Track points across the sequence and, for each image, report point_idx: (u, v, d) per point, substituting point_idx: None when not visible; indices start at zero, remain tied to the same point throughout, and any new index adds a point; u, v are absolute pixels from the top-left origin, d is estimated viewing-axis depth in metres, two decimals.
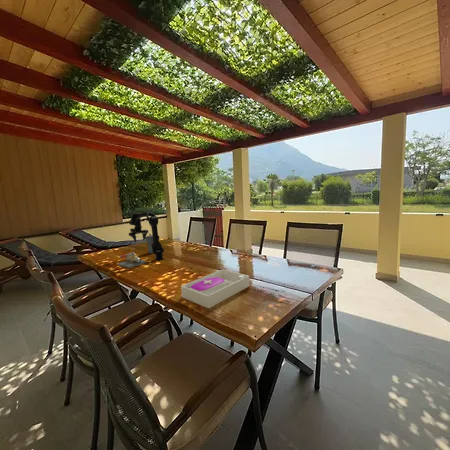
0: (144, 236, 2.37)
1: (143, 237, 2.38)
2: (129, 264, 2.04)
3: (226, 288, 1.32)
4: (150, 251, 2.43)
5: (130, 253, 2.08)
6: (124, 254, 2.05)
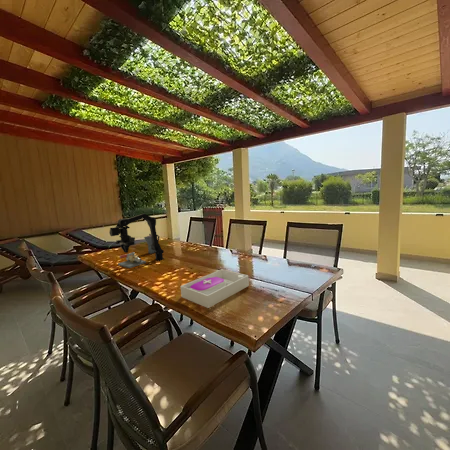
0: (124, 248, 1.95)
1: None
2: (129, 264, 2.04)
3: (225, 288, 1.32)
4: (150, 251, 2.43)
5: (130, 253, 2.08)
6: (124, 254, 2.05)
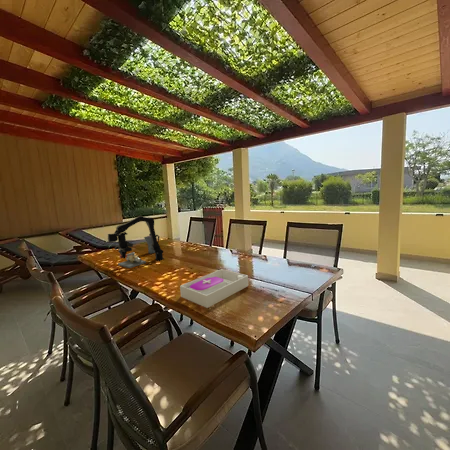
0: (121, 254, 1.99)
1: None
2: (129, 264, 2.04)
3: (225, 288, 1.32)
4: (150, 251, 2.43)
5: (130, 253, 2.08)
6: None
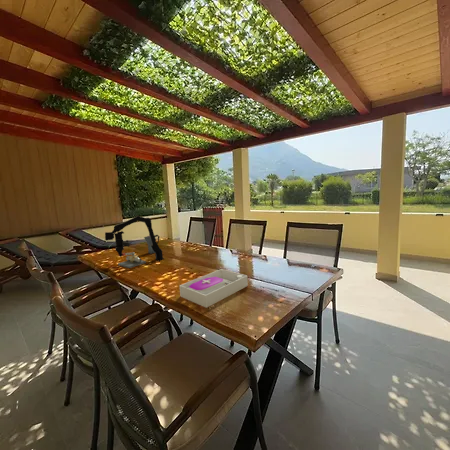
0: (118, 252, 2.06)
1: None
2: (129, 264, 2.04)
3: (224, 288, 1.33)
4: (150, 251, 2.43)
5: (129, 253, 2.09)
6: None
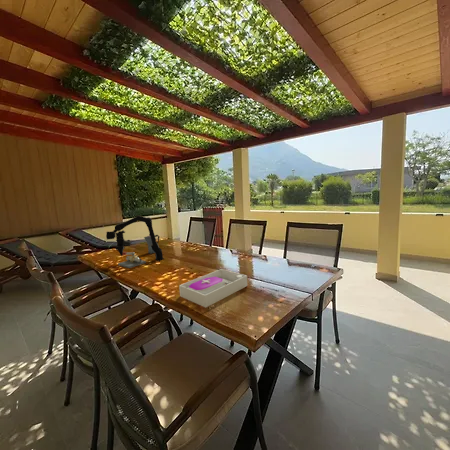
0: None
1: None
2: (129, 264, 2.04)
3: (224, 288, 1.33)
4: (150, 251, 2.43)
5: (130, 252, 2.10)
6: (126, 252, 2.13)
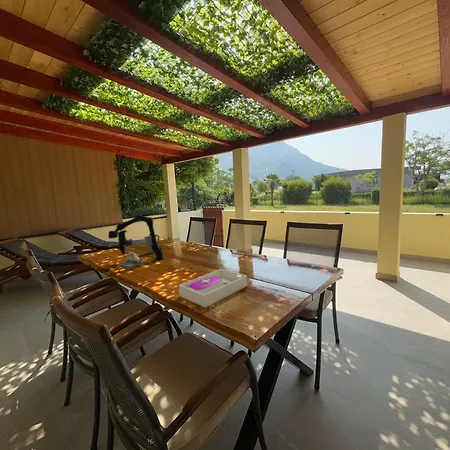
0: None
1: None
2: (129, 264, 2.04)
3: (223, 287, 1.33)
4: (150, 251, 2.43)
5: (130, 252, 2.11)
6: (128, 251, 2.15)
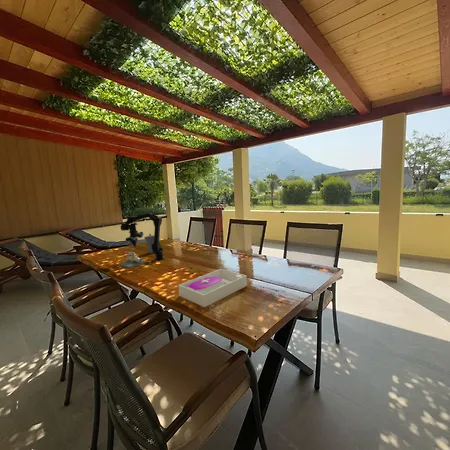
0: None
1: None
2: (129, 264, 2.04)
3: (223, 287, 1.33)
4: (150, 251, 2.43)
5: (130, 252, 2.11)
6: (128, 251, 2.15)
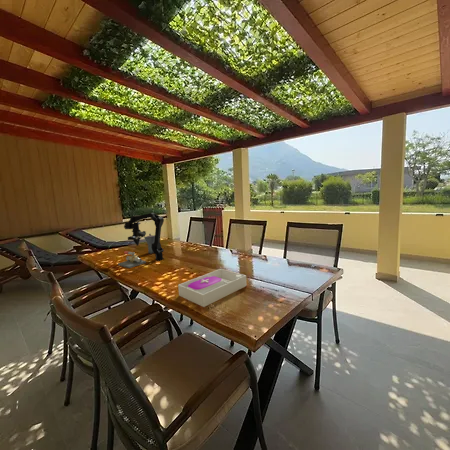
0: None
1: None
2: (129, 264, 2.04)
3: (222, 287, 1.33)
4: (150, 251, 2.43)
5: (130, 252, 2.11)
6: (128, 251, 2.15)
